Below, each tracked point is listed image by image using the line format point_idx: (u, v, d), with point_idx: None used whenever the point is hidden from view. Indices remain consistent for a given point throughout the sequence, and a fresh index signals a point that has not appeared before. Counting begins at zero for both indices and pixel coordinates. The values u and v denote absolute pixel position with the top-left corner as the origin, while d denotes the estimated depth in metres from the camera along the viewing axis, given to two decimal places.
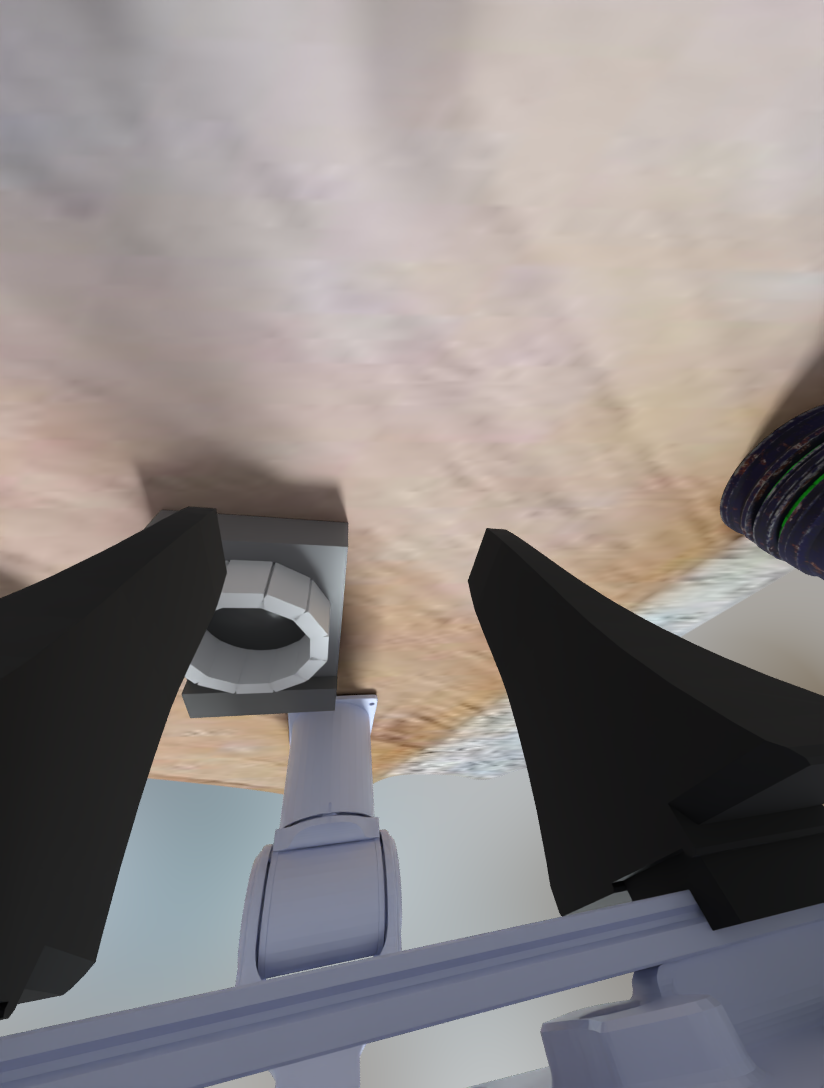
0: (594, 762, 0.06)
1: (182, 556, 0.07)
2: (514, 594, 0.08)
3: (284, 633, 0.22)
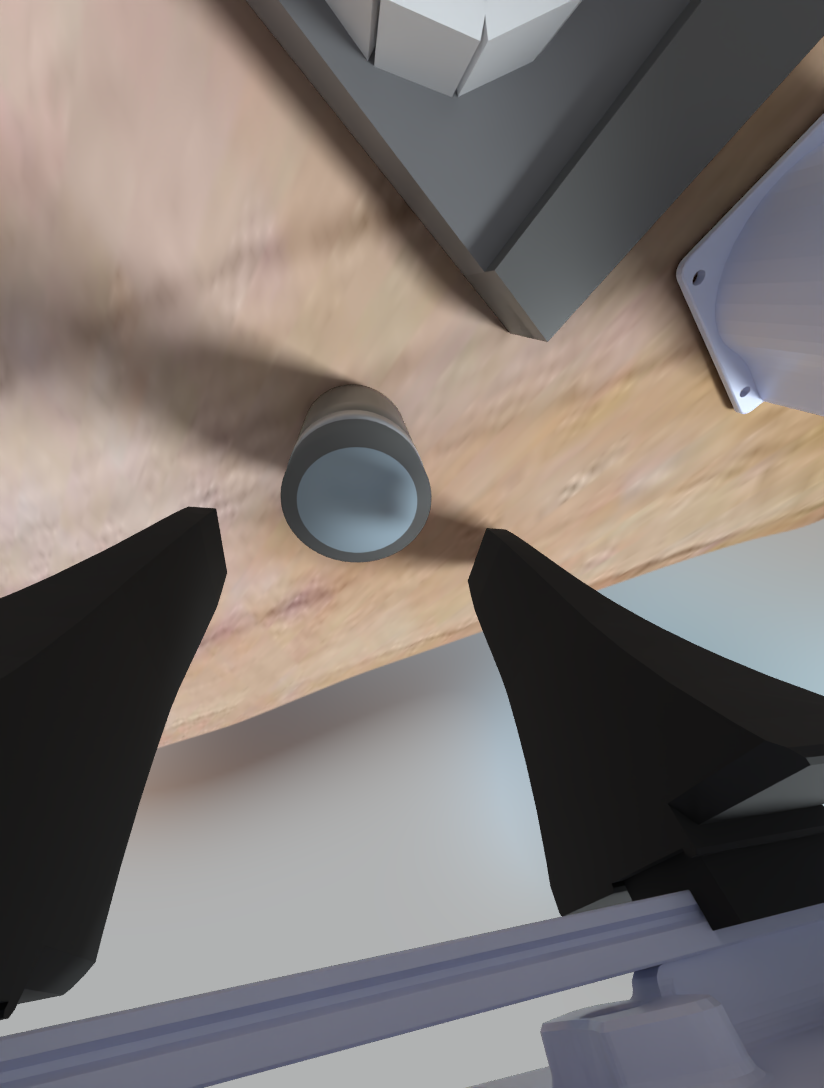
0: (594, 762, 0.06)
1: (183, 556, 0.07)
2: (514, 594, 0.08)
3: None
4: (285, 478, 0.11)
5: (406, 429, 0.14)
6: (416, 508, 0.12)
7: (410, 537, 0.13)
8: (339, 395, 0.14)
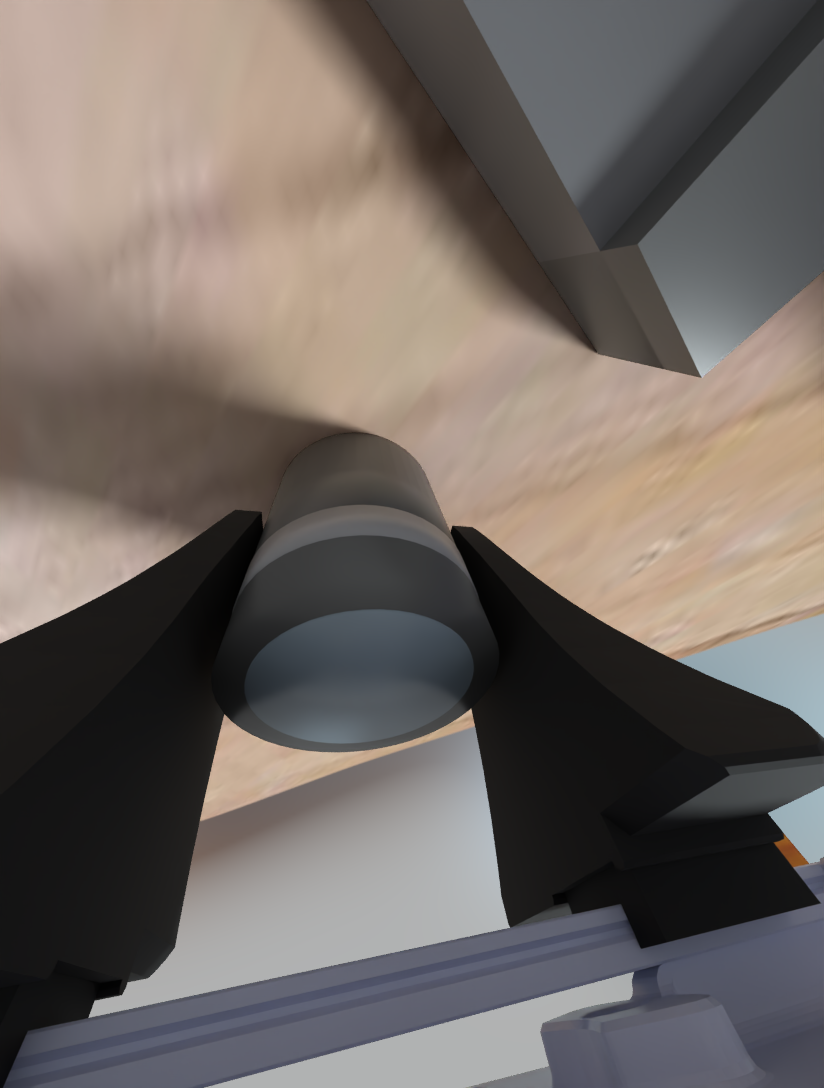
0: (539, 767, 0.05)
1: (239, 559, 0.07)
2: None
3: None
4: (217, 666, 0.05)
5: (440, 513, 0.08)
6: (469, 682, 0.07)
7: (454, 715, 0.07)
8: (331, 459, 0.08)
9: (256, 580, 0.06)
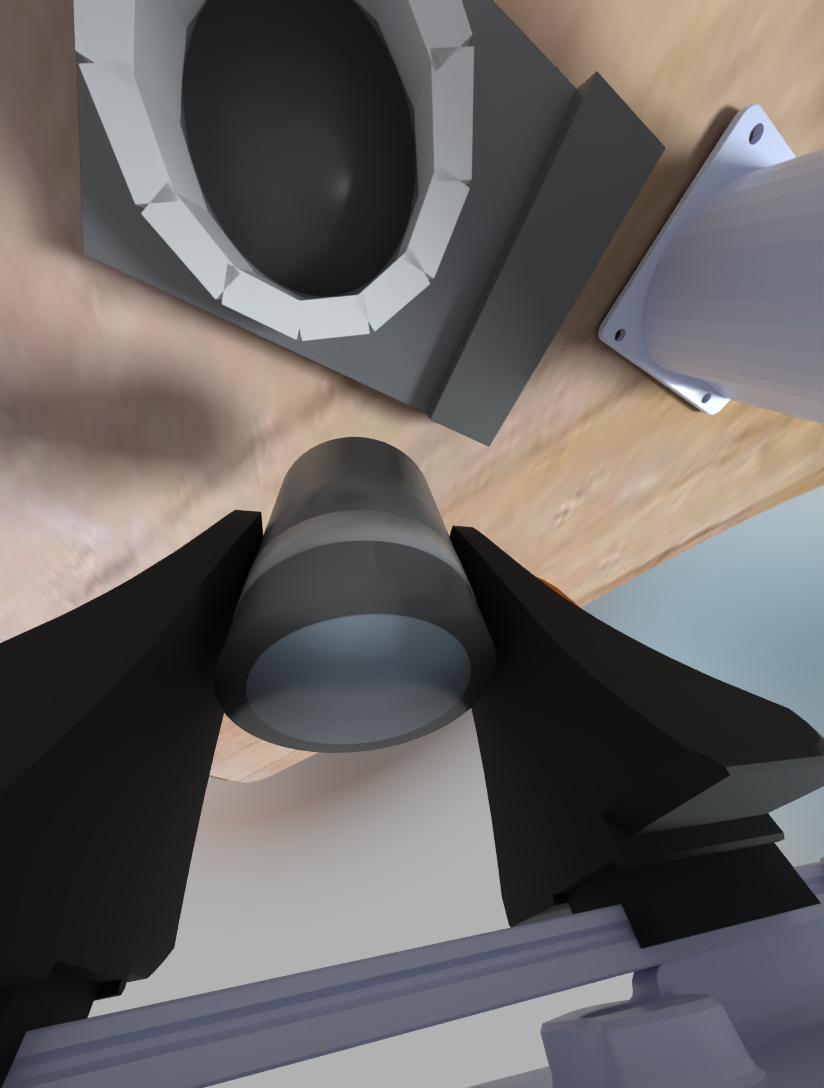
0: (539, 767, 0.05)
1: (238, 559, 0.07)
2: (475, 593, 0.08)
3: (375, 130, 0.10)
4: (218, 671, 0.05)
5: (437, 515, 0.09)
6: (468, 682, 0.07)
7: (454, 715, 0.07)
8: (328, 464, 0.08)
9: (254, 587, 0.06)
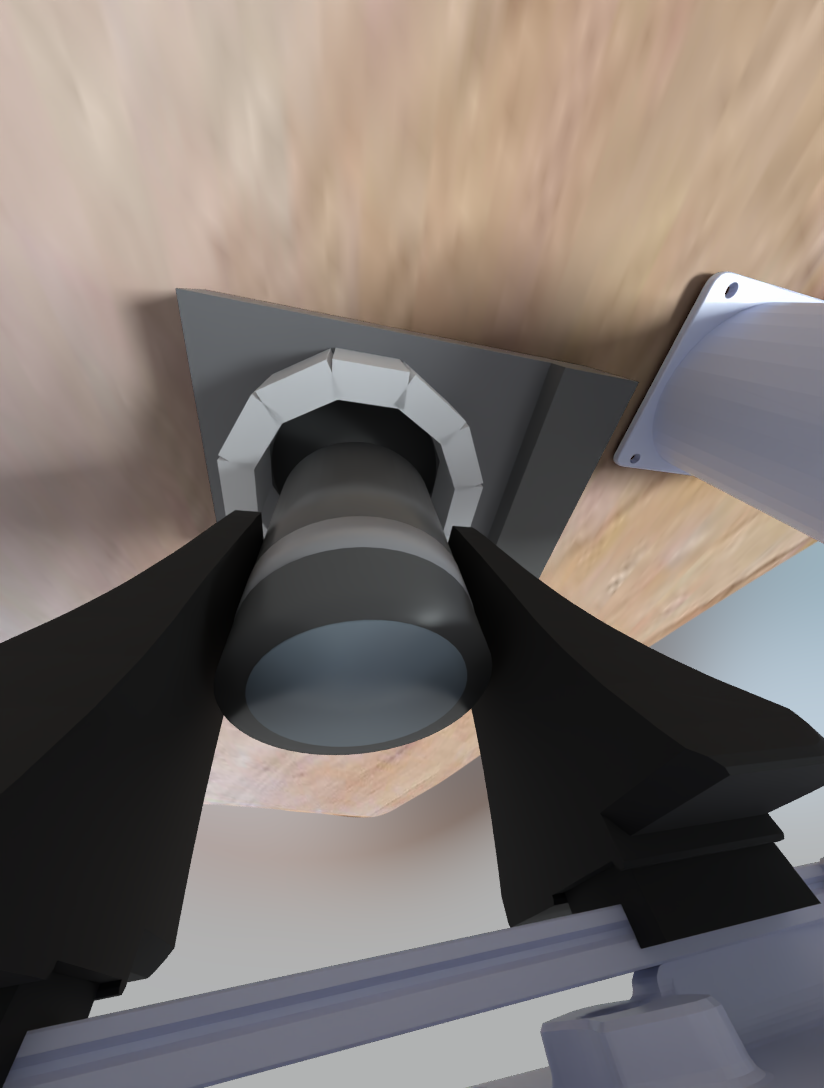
0: (539, 768, 0.05)
1: (238, 558, 0.07)
2: (475, 593, 0.08)
3: (401, 442, 0.13)
4: (217, 680, 0.06)
5: (433, 516, 0.09)
6: (465, 683, 0.07)
7: (455, 715, 0.07)
8: (322, 471, 0.09)
9: (249, 597, 0.06)
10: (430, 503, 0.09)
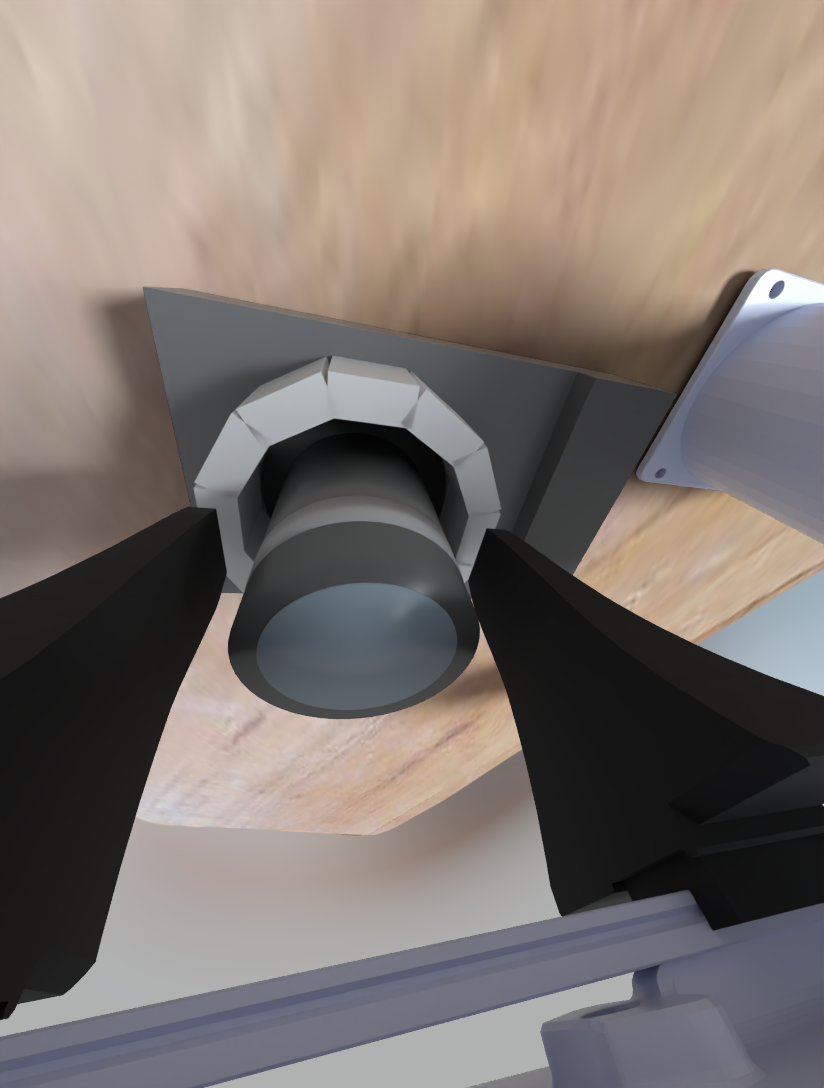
0: (594, 762, 0.06)
1: (182, 556, 0.07)
2: (514, 594, 0.08)
3: None
4: (232, 640, 0.06)
5: (427, 500, 0.09)
6: (455, 647, 0.07)
7: (447, 680, 0.08)
8: (324, 458, 0.09)
9: (259, 567, 0.06)
10: (424, 489, 0.10)
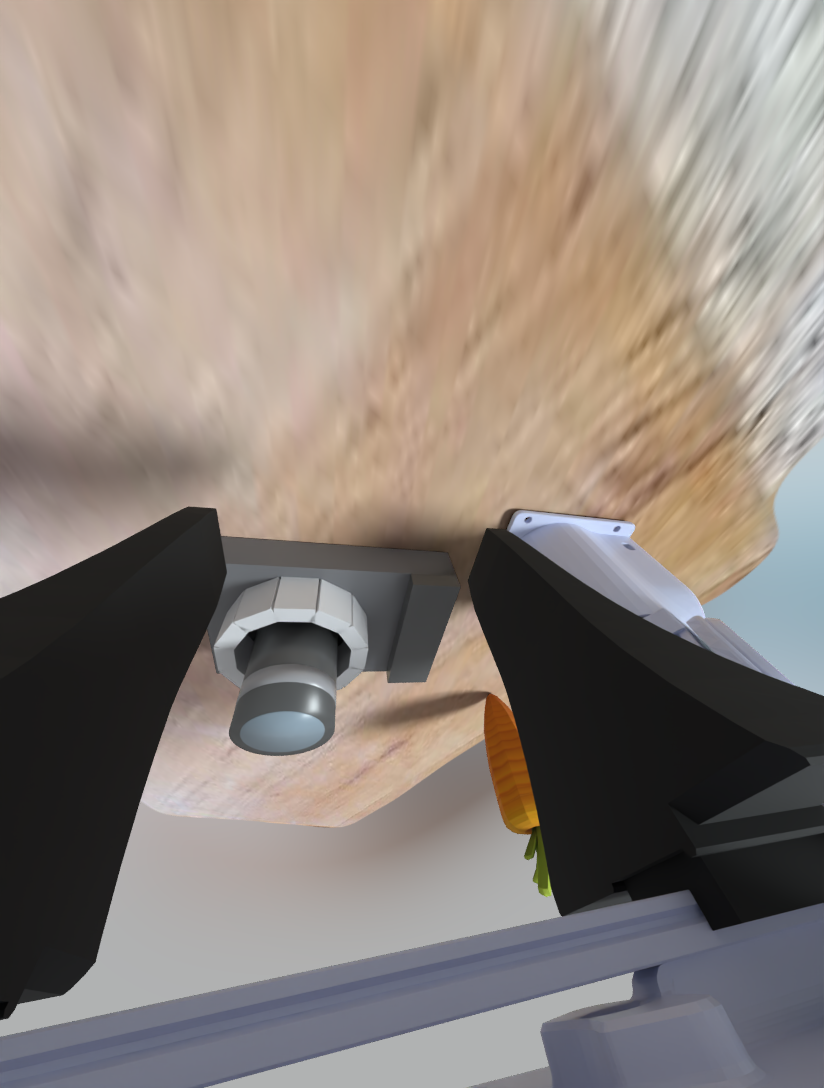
0: (594, 762, 0.06)
1: (182, 556, 0.07)
2: (514, 594, 0.08)
3: None
4: (230, 730, 0.16)
5: (324, 649, 0.19)
6: (324, 728, 0.17)
7: (325, 739, 0.18)
8: (275, 628, 0.19)
9: (242, 699, 0.17)
10: (327, 638, 0.20)
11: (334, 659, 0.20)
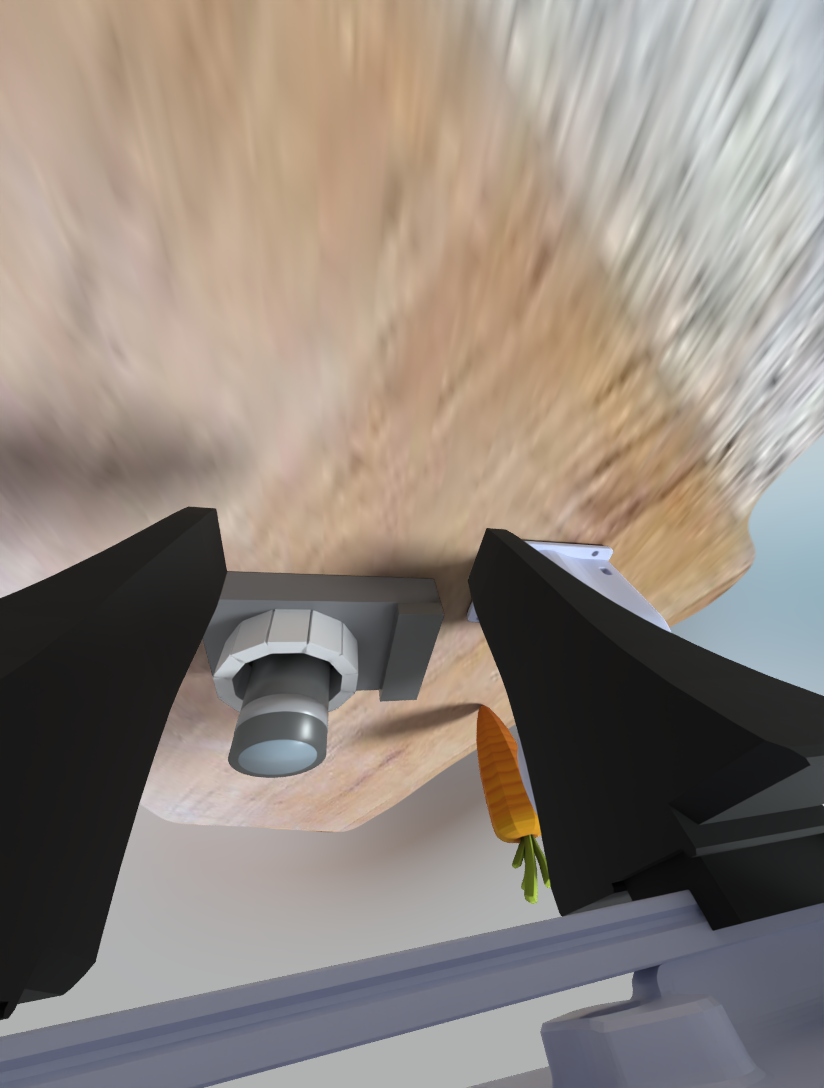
0: (594, 762, 0.06)
1: (183, 556, 0.07)
2: (514, 594, 0.08)
3: None
4: (229, 757, 0.18)
5: (316, 677, 0.21)
6: (316, 752, 0.19)
7: (318, 762, 0.19)
8: (270, 658, 0.21)
9: (239, 728, 0.18)
10: (320, 665, 0.21)
11: (326, 685, 0.21)
